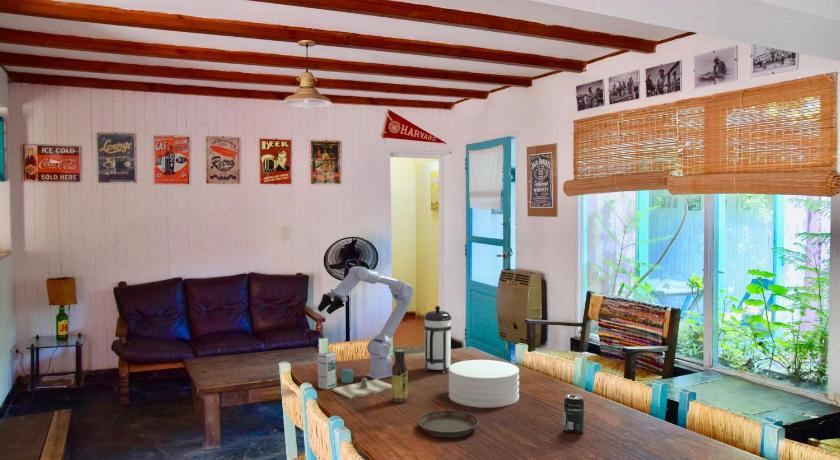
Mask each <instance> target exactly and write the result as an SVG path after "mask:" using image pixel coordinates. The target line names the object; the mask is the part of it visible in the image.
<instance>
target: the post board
mask: <svg viewBox="0 0 840 460" xmlns="http://www.w3.org/2000/svg"><path fill="white" fill-rule="evenodd" d="M332 391H333V392H334V393H336V394H339V395H341V396H343V397H345V398H347V399H350V400H351V399H355V398H361V397H366V396H369V395H373V394H378V393H382V392H387V391H392V383H388V382H385V381H382V380H380V379H372V380H368V379H367V378H366V377H362V378H361V379H360V382H356V383H351V384H347V385H342V386H341V385H340V386H337V387H333V388H332Z"/></svg>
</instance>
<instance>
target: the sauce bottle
mask: <svg viewBox="0 0 840 460" xmlns="http://www.w3.org/2000/svg"><path fill="white" fill-rule="evenodd" d="M405 354H406V351H405V349H395V350H394V362H393V363H394V364H392V376H391V385H392V390H391V401H392V402H394V403H406V402H408V394H409V393H408V387H409V386H408V385H409V381H408V379H409V378H408V376H409V373H408V372H409V371H408V368H407V364H406V360H405Z"/></svg>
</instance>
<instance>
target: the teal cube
mask: <svg viewBox="0 0 840 460" xmlns="http://www.w3.org/2000/svg"><path fill="white" fill-rule="evenodd" d="M340 375H341V377H340V378H341V379H340V380H341V383H344V384H350V383H351V384H352V383H353V382H354V369H352V368H343V369H341V374H340Z"/></svg>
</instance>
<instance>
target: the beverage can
mask: <svg viewBox="0 0 840 460" xmlns="http://www.w3.org/2000/svg"><path fill="white" fill-rule="evenodd" d="M563 429H564V430H565V431H566V432H568V433H569V432H570V433H569V434H574V433H577V434H580V432H581V433H582V432H583V431H585V400H584V398H583V395H581V394H579V393H567V394H565V398H563Z"/></svg>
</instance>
